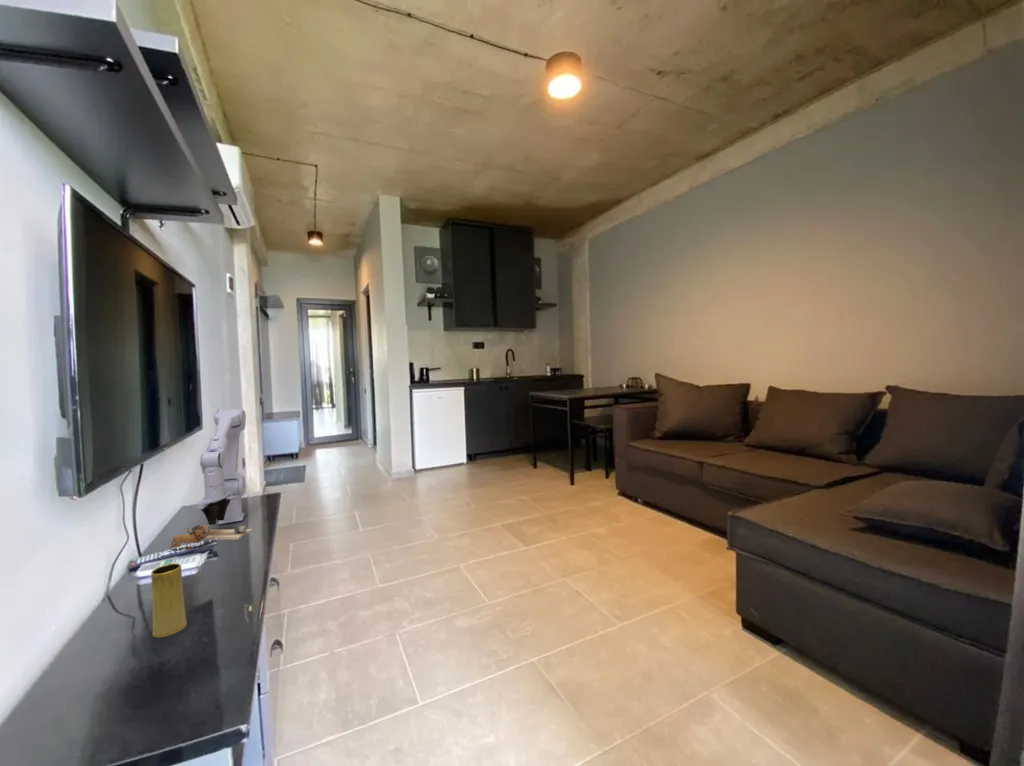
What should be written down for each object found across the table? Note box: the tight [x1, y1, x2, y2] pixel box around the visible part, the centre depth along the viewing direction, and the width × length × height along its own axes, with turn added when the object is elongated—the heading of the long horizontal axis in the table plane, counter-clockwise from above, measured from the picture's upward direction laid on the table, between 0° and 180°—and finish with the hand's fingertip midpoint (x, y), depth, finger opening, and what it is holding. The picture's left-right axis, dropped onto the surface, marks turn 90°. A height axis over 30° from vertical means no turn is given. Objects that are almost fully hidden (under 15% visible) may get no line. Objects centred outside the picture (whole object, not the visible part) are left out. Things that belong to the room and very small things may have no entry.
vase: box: [150, 562, 188, 638], centre depth 95 cm, size 6×6×14 cm
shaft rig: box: [186, 523, 253, 540], centre depth 150 cm, size 7×21×4 cm, turn 88°
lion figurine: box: [170, 524, 211, 549], centre depth 139 cm, size 12×4×7 cm, turn 121°
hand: (216, 522), depth 150 cm, fingers open, 3 cm apart
